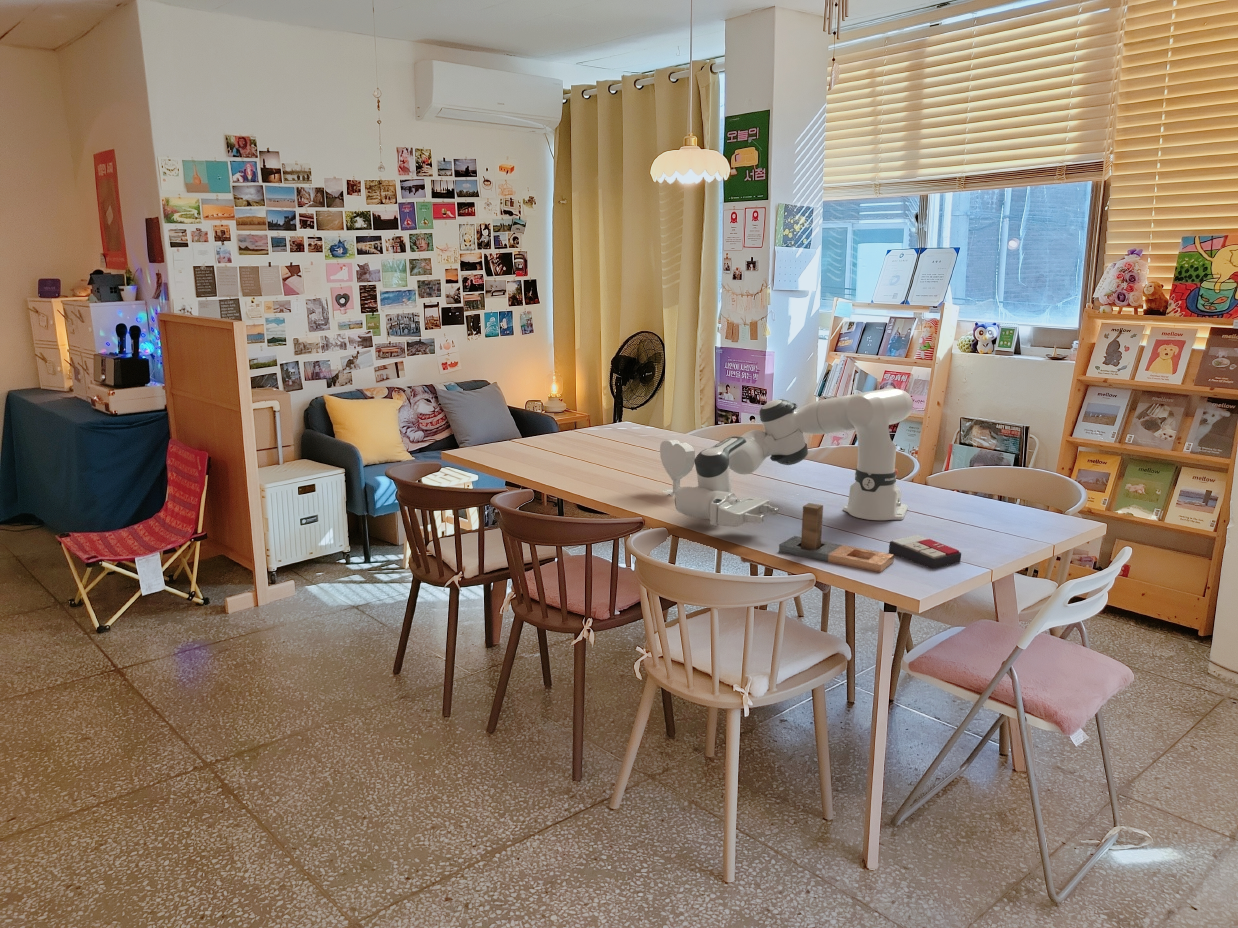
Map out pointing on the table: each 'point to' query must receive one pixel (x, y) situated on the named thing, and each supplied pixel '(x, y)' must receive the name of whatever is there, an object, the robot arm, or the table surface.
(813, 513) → the walnut peg
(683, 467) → the heart sculpture
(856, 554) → the peg board
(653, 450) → the table surface
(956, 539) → the table surface
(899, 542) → the calculator
